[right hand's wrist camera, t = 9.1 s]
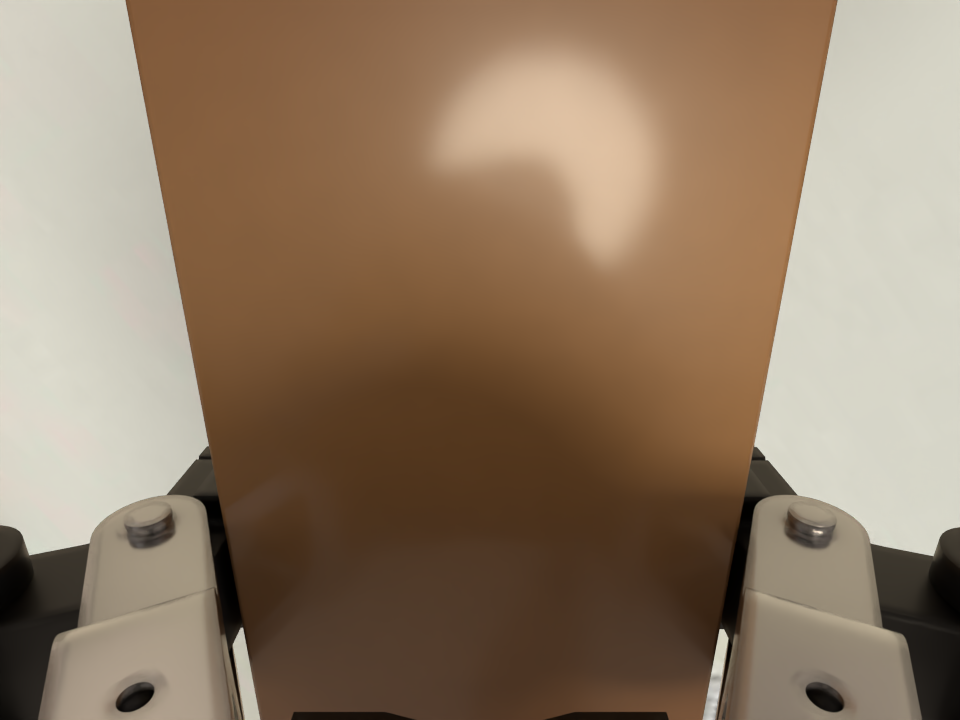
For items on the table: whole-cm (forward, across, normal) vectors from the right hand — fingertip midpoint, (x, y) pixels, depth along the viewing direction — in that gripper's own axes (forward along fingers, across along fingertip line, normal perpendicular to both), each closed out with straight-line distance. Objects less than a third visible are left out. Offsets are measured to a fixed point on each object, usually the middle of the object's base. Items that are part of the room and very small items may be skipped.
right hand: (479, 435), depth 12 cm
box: (+5, 0, -8) cm, 9 cm away
